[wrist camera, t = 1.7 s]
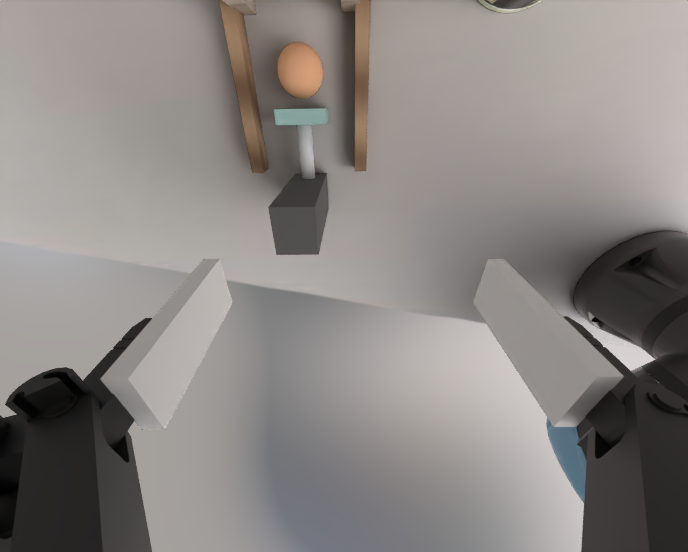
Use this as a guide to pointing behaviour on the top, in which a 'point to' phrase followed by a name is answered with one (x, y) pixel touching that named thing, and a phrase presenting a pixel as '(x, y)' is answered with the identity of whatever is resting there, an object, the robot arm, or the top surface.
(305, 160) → the striker
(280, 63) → the brown egg
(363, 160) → the lane
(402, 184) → the top surface
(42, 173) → the top surface
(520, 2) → the coffee can
